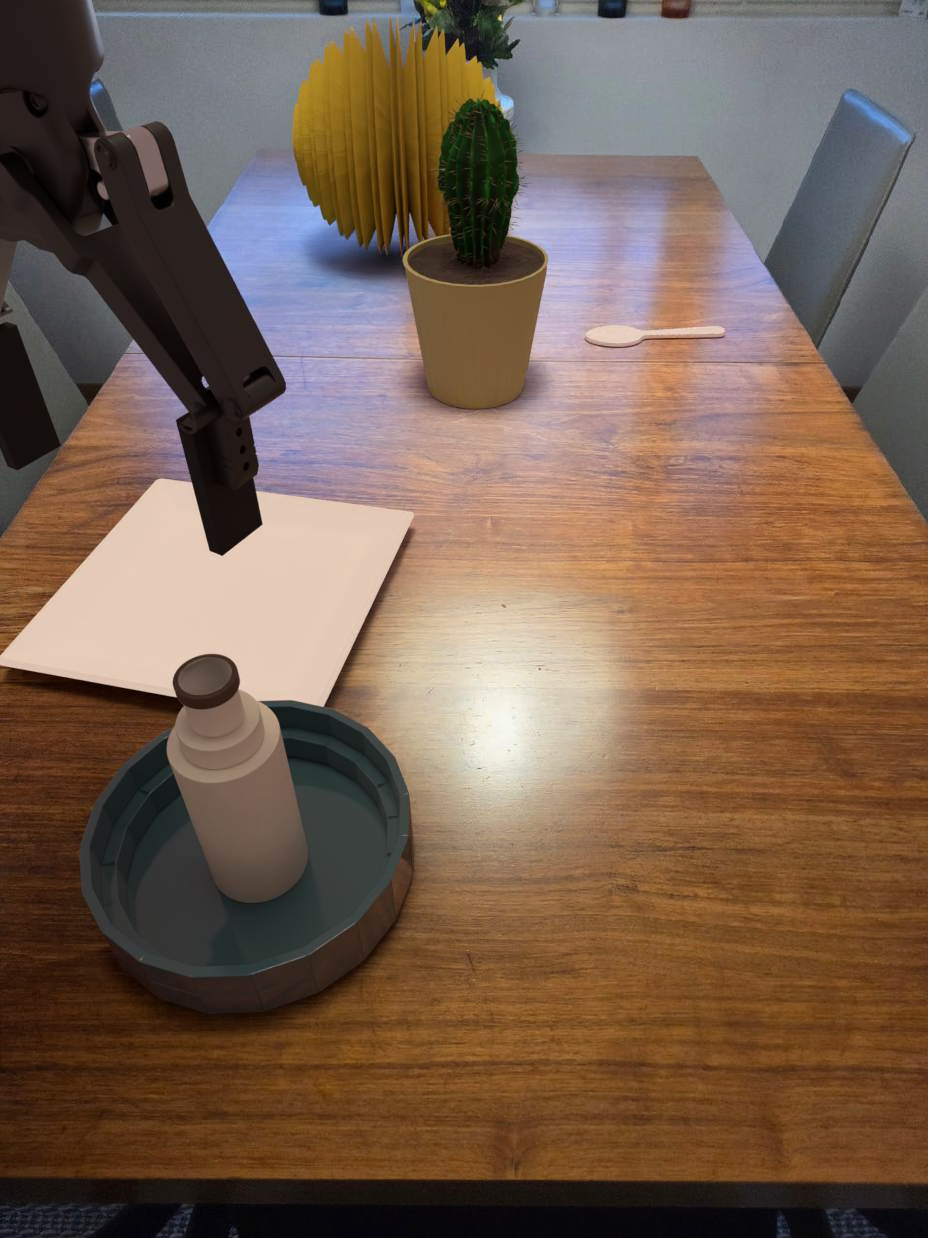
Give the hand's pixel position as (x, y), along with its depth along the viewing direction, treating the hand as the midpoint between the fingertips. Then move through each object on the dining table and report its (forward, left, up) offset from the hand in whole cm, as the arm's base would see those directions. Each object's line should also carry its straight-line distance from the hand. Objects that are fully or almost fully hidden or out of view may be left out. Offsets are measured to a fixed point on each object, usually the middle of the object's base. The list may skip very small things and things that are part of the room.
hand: (129, 495), depth 42 cm
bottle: (+1, -5, -24) cm, 25 cm away
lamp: (+41, +94, -25) cm, 105 cm away
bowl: (+1, -5, -25) cm, 26 cm away
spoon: (+62, +54, -25) cm, 86 cm away
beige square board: (+3, +22, -25) cm, 33 cm away
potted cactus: (+36, +50, -25) cm, 67 cm away
